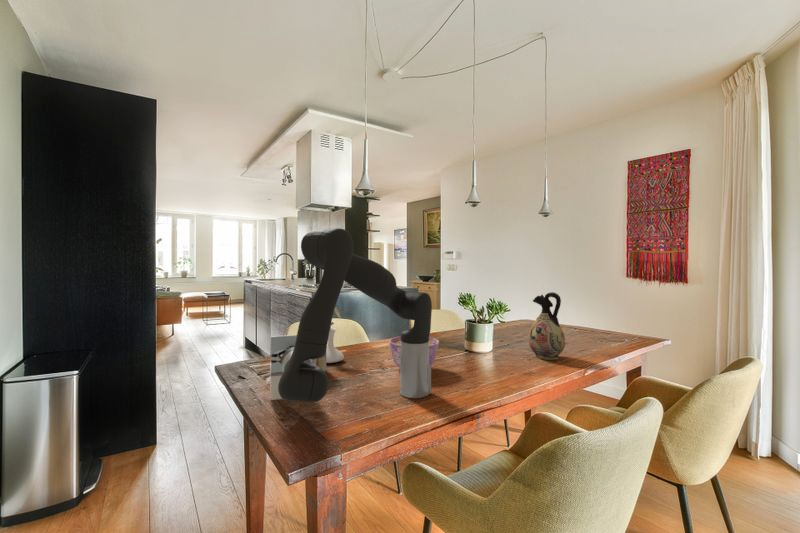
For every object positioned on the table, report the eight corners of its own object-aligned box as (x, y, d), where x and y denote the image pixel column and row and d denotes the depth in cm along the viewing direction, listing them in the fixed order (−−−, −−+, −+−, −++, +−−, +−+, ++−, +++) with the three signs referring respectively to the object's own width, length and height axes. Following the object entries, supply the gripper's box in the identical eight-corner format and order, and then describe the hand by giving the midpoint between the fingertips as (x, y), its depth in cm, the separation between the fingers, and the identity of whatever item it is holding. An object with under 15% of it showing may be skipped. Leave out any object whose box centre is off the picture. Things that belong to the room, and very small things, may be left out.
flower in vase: (341, 365, 148) (341, 304, 148) (313, 365, 148) (314, 304, 148) (346, 357, 161) (346, 301, 161) (321, 356, 161) (321, 301, 161)
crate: (306, 384, 125) (306, 358, 125) (310, 395, 115) (310, 367, 114) (270, 388, 121) (270, 361, 121) (270, 400, 110) (270, 371, 110)
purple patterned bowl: (385, 376, 134) (385, 345, 134) (392, 361, 154) (392, 334, 154) (438, 378, 132) (439, 347, 132) (439, 363, 152) (439, 336, 152)
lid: (311, 333, 114) (311, 334, 113) (310, 367, 115) (310, 368, 114) (270, 336, 109) (270, 336, 109) (270, 371, 110) (270, 372, 110)
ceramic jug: (521, 357, 163) (522, 291, 163) (537, 351, 174) (538, 289, 173) (559, 365, 151) (560, 294, 150) (574, 358, 161) (575, 292, 161)
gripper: (322, 348, 98) (313, 335, 114) (270, 352, 93) (268, 338, 109) (321, 375, 98) (313, 359, 114) (270, 381, 93) (268, 363, 109)
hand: (291, 349), depth 111 cm, fingers closed
